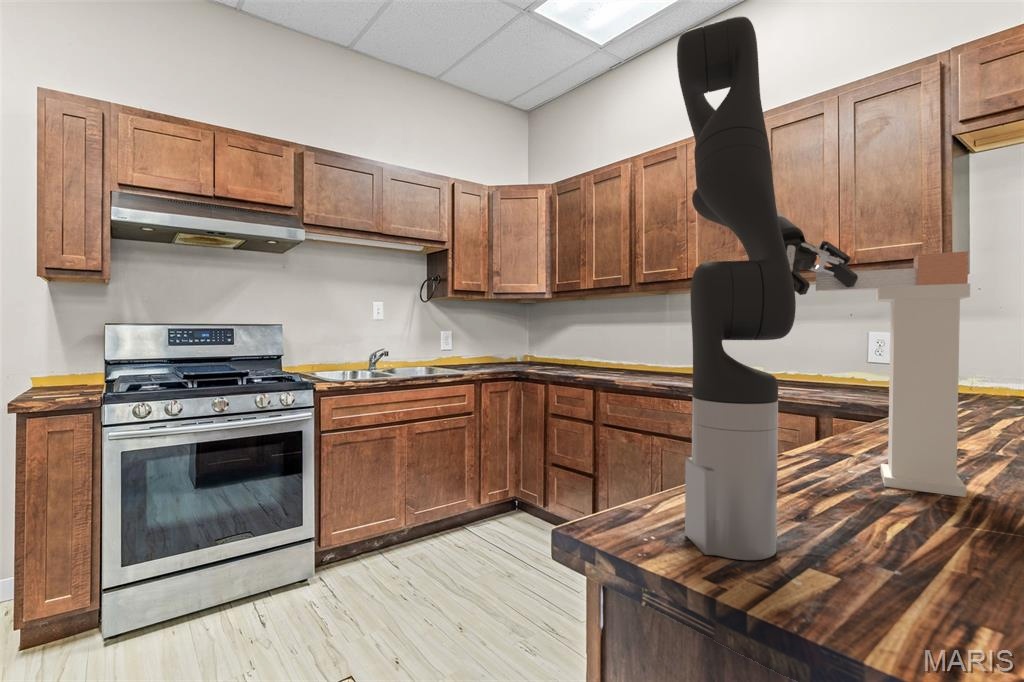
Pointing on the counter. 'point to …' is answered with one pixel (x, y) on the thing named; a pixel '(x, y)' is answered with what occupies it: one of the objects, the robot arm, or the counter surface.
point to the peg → (906, 274)
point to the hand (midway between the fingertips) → (830, 286)
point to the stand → (923, 387)
